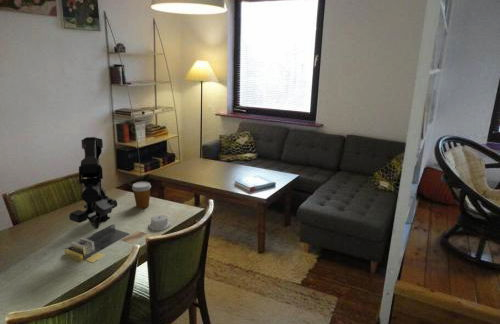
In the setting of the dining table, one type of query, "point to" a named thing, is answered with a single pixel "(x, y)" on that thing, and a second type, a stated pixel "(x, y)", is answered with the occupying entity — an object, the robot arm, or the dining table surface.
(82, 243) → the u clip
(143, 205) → the disposable coffee cup
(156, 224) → the mechanical component
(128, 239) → the board
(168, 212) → the dining table surface
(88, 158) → the robot arm
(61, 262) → the dining table surface
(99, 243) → the shallow tray
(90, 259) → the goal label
